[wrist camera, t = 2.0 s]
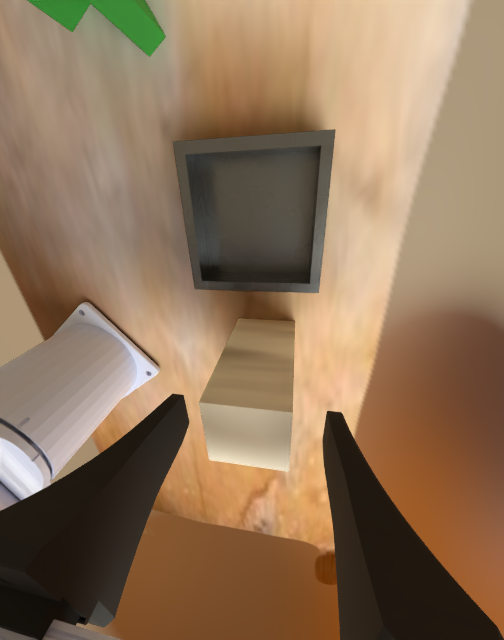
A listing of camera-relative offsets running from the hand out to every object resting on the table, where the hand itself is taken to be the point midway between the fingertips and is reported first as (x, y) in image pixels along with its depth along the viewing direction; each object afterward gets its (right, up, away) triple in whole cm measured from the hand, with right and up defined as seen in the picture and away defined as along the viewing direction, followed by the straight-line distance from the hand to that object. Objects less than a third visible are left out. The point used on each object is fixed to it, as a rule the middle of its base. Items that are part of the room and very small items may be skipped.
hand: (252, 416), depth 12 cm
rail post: (+1, +3, +6) cm, 7 cm away
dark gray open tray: (0, +11, +2) cm, 11 cm away
